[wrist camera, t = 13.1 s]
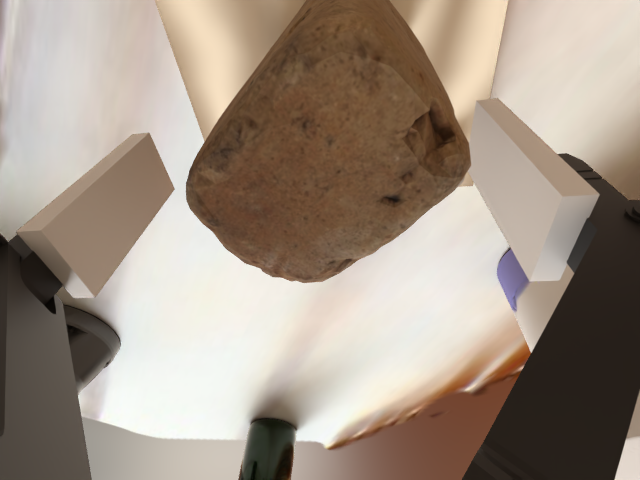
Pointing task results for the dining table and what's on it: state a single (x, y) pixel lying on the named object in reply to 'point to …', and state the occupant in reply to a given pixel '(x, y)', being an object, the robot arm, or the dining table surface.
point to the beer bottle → (268, 451)
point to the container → (532, 316)
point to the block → (329, 144)
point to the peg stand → (278, 11)
